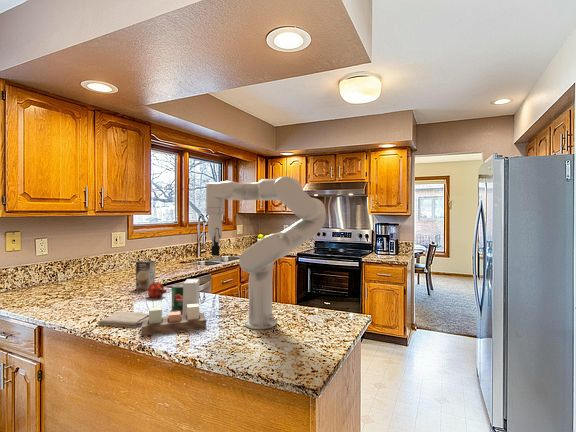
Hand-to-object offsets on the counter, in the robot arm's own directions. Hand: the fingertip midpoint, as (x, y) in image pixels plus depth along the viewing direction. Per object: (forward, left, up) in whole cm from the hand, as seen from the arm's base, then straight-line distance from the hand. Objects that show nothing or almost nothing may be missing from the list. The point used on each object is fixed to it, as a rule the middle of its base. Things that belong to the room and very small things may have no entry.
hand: (215, 255), depth 139 cm
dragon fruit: (+54, +4, -27) cm, 61 cm away
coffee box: (+80, +1, -27) cm, 84 cm away
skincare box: (+14, +4, -27) cm, 31 cm away
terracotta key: (+2, +17, -27) cm, 32 cm away
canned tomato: (+25, +4, -27) cm, 37 cm away
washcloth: (+22, +29, -28) cm, 46 cm away
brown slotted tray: (+2, +17, -27) cm, 32 cm away
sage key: (+5, +23, -24) cm, 34 cm away
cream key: (-1, +11, -24) cm, 26 cm away
